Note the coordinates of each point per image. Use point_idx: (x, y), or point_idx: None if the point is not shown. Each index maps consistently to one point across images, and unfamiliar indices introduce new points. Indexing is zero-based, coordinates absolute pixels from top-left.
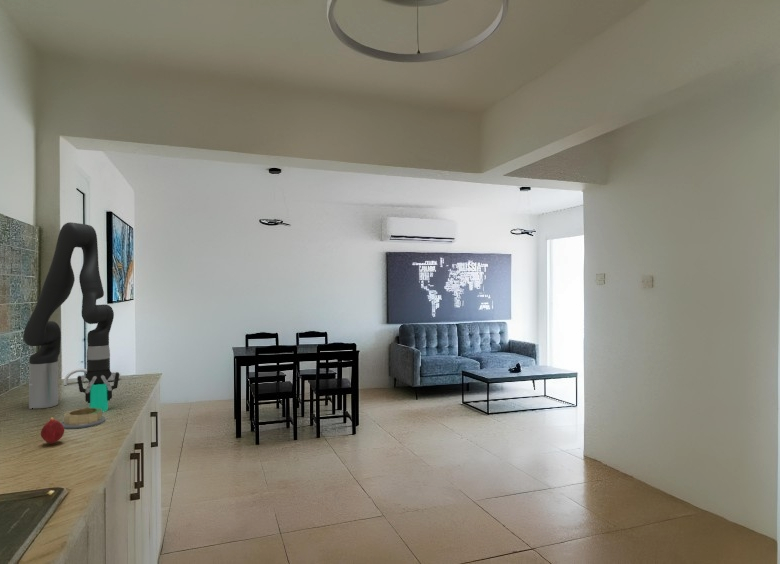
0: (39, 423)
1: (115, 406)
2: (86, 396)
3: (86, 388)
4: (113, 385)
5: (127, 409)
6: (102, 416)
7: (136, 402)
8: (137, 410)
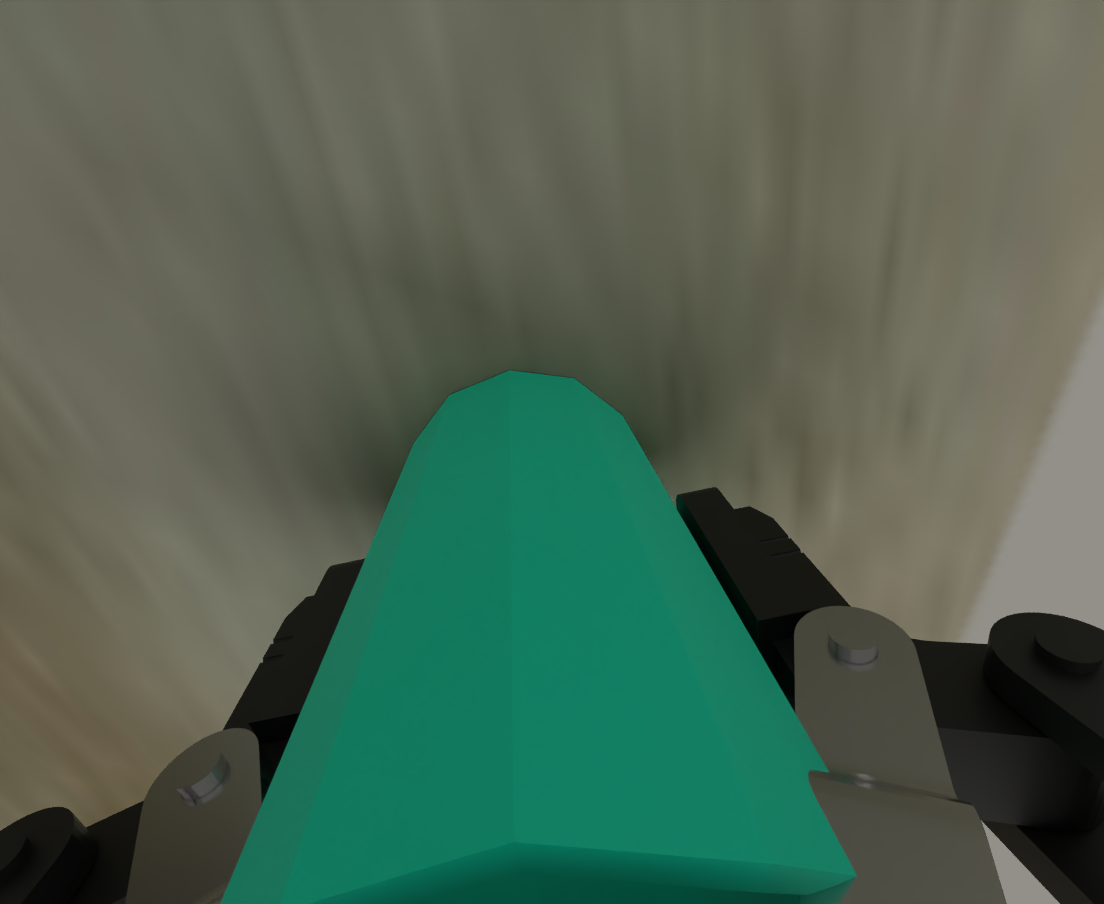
0: (32, 803)
1: (736, 286)
2: None
3: (162, 891)
4: (1022, 769)
5: (873, 531)
6: None
7: (1087, 90)
8: (963, 609)
